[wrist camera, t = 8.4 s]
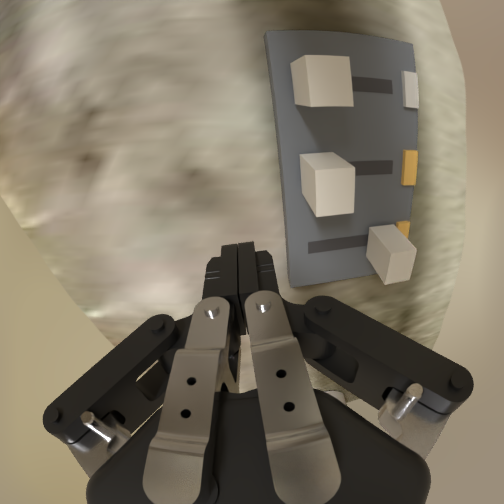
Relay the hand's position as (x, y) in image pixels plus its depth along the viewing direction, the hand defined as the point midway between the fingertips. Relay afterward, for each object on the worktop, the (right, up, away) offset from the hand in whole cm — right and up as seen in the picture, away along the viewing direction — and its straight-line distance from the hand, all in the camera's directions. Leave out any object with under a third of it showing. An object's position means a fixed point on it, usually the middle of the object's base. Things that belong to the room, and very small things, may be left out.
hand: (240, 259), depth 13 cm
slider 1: (+5, +14, +5) cm, 16 cm away
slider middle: (+6, +7, +10) cm, 14 cm away
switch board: (+10, +9, +12) cm, 18 cm away
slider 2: (+14, +2, +14) cm, 20 cm away
